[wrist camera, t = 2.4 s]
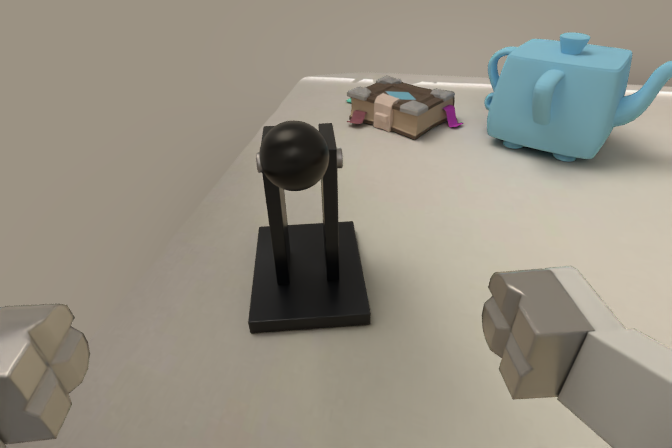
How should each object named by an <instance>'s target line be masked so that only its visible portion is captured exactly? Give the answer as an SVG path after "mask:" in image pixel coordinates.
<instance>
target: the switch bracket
mask: <svg viewBox="0 0 672 448" xmlns="http://www.w3.org/2000/svg"><path fill="white" fill-rule="evenodd" d="M273 127H275V126H264V129H263V135H262V141H263V139H264V137H265V136H266V134H267V133H268V132H269V131H270V130H271V129H272V128H273ZM319 132H320V133H321V134H322V136H323V137H324V139H325V141H326V143H327V146H328V150H329V163H328V167H327V170H326V172H325V174H324V175H323V177H322V178H321V190H322V212H323V223H317V224H300V225H288V223H287V214H286V204H285V194H284V189H282V188H280V187H278V186H276V185H275V184H273V183H272V182H271V181H270V180H269V179H268V178H267V177H266V175H265V174H264V172H263V170H262V167H261V164H260V158H259V153H257V155H256V161H257V169H258V172H259V173H260V172H262V173H263V181H264V188H265V196H266V203H267V211H268V218H269V226H267V227H259V233H258V242H257V251H256V259H255V268H254V277H253V286H252V295H251V303H250V312H249V321H248V324H249V329H250V333H259V332H273V331H286V330H300V329H313V328H327V327H341V326H354V325H368V324H370V316H371V313H370V308H369V303H368V298H367V292H366V287H365V282H364V277H363V272H362V266H361V261H360V256H359V251H358V245H357V240H356V235H355V230H354V225H353V221H349V222H338V183H337V168H342V167H343V158H342V149H341V148H339V149H337V148H336V142H335V137H334V131H333V126H332V123H325V124H319ZM261 143H262V142H261Z"/></svg>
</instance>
